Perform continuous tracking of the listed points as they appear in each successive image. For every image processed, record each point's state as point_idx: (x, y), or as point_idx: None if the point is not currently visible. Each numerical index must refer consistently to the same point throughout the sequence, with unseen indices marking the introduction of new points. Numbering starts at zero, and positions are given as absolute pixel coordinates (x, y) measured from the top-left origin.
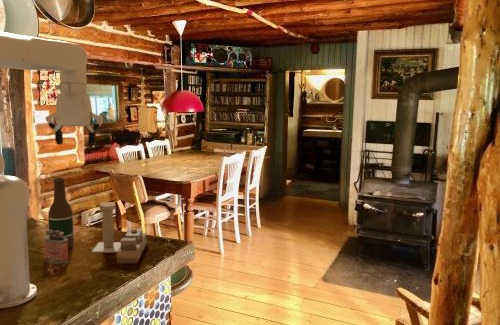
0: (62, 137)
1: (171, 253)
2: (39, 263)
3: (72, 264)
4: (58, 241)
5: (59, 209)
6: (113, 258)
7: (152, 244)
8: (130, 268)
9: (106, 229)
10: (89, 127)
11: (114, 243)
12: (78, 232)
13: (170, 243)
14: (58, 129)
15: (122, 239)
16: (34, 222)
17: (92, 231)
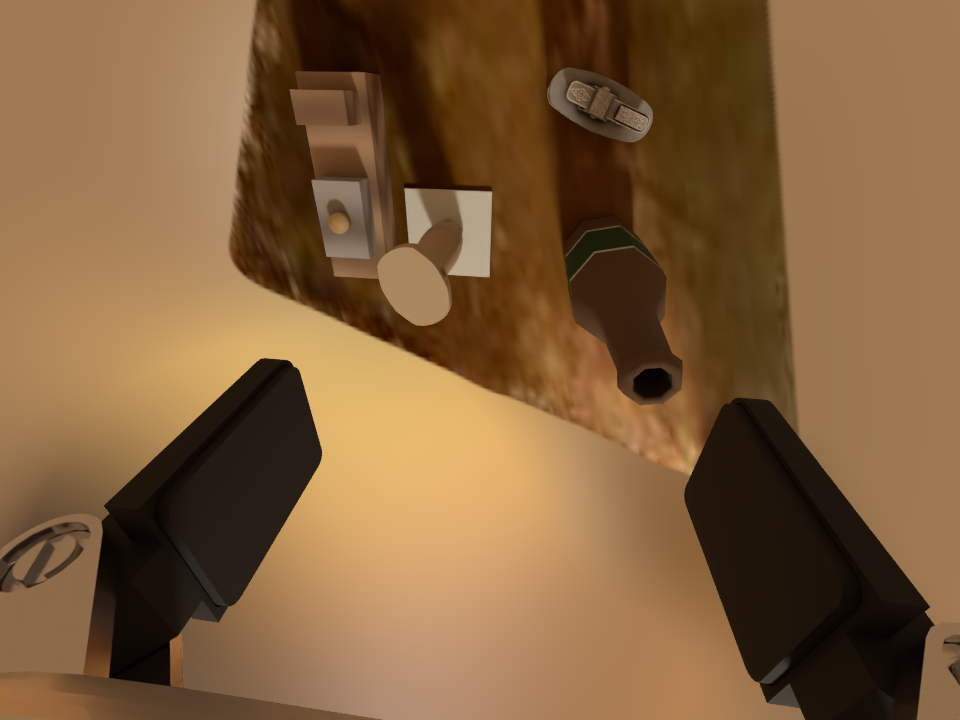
0: (711, 569)
1: (245, 171)
2: (647, 85)
3: (529, 70)
4: (583, 70)
5: (619, 271)
6: (408, 129)
7: None
8: (321, 18)
9: (436, 233)
10: (12, 644)
11: None
12: (572, 372)
13: (281, 262)
14: (903, 696)
15: (340, 104)
16: None
17: (533, 377)
